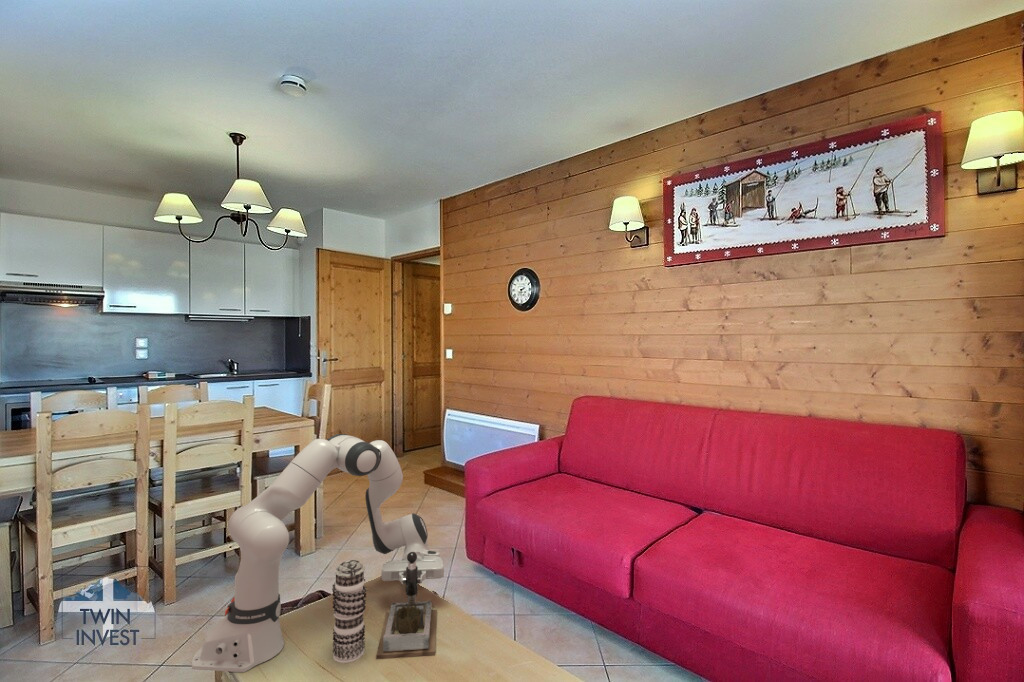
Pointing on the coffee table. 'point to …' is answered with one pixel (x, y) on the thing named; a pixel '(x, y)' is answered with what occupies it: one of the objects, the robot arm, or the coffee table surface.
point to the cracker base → (410, 653)
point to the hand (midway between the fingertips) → (411, 581)
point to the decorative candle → (349, 612)
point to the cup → (408, 619)
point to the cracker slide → (410, 639)
